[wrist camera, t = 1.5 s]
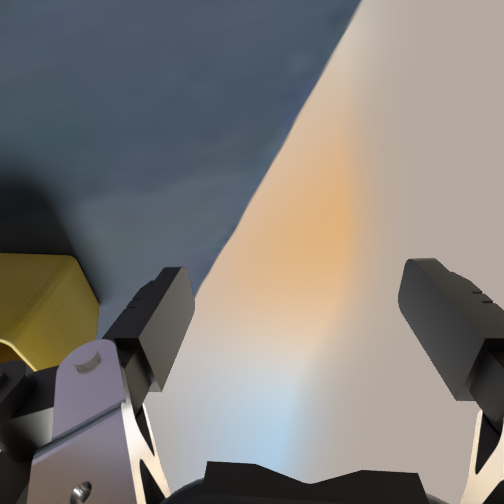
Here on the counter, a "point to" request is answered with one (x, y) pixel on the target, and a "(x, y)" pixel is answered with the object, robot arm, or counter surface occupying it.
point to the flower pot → (44, 309)
